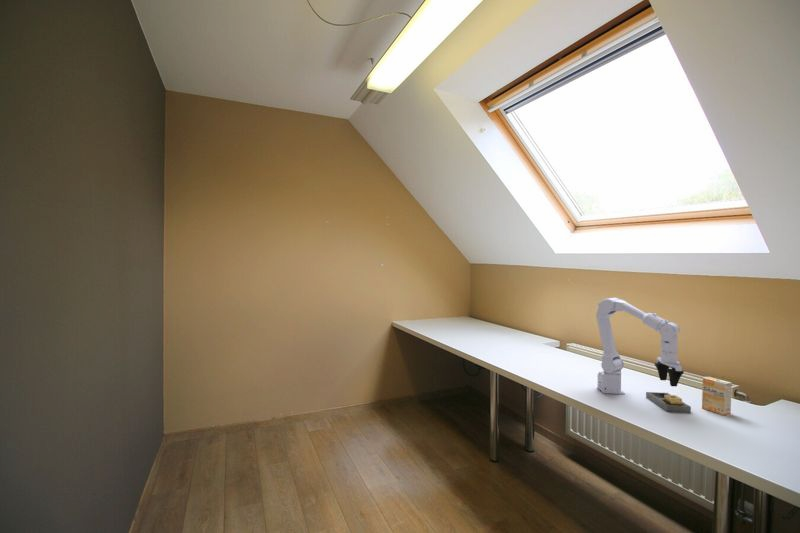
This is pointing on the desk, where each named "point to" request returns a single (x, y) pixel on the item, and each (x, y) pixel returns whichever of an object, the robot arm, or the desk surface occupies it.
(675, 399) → the nut block
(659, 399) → the grey metal flat frame
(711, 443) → the desk surface
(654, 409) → the desk surface
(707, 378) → the supplement box
